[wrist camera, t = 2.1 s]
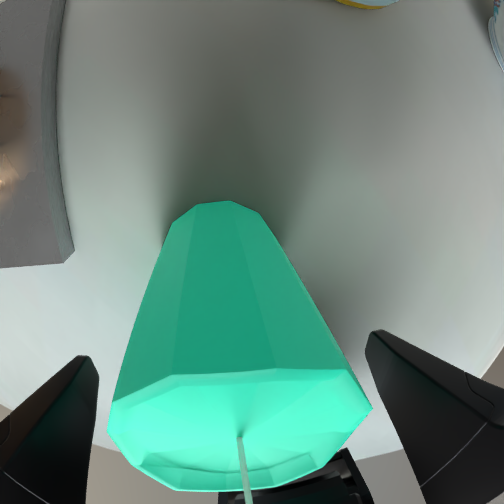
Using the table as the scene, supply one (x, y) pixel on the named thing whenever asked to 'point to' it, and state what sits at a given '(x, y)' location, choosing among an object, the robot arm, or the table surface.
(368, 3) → the bottle
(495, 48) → the chinaware
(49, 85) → the square plate with hole
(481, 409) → the robot arm
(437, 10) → the table surface
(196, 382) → the candle
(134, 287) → the table surface
